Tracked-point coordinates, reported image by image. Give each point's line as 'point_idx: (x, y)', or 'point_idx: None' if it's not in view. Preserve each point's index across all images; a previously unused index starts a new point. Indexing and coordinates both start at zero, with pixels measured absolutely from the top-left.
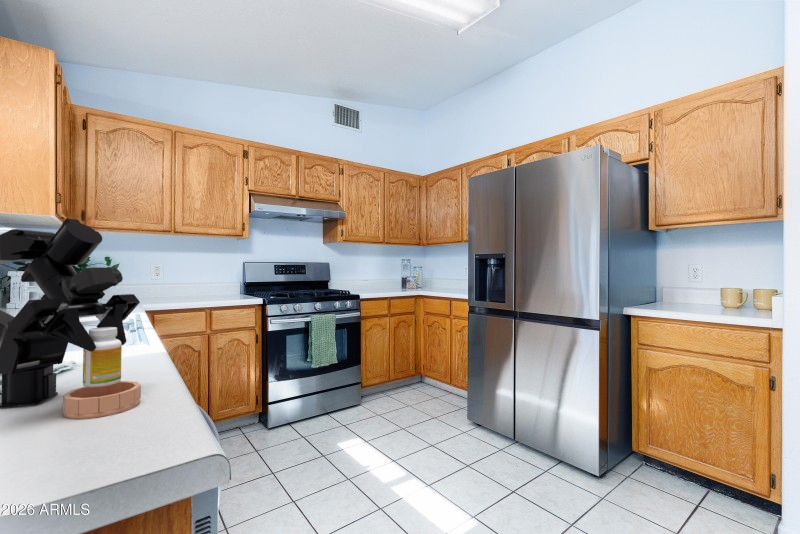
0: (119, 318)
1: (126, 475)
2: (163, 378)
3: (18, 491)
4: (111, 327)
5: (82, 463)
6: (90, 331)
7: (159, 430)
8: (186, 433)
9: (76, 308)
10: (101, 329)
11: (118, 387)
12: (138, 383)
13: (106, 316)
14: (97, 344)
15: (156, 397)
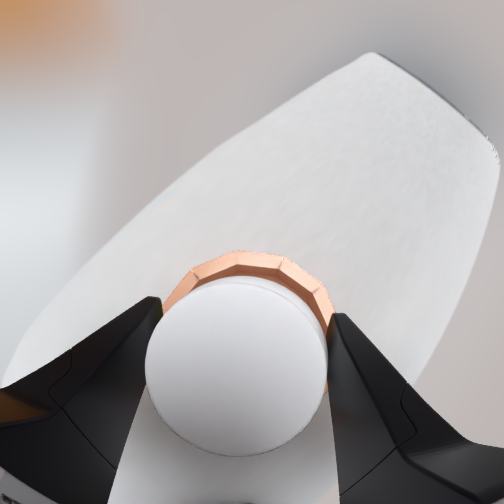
0: (37, 386)
1: (438, 101)
2: (28, 362)
3: (492, 176)
4: (163, 363)
5: (446, 158)
6: (321, 397)
7: (343, 127)
8: (341, 90)
9: (493, 498)
10: (288, 339)
11: None
12: (178, 287)
13: (55, 490)
14: (315, 326)
15: (160, 267)
